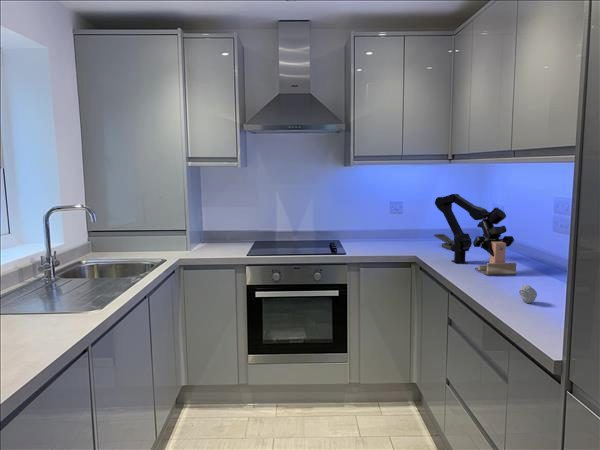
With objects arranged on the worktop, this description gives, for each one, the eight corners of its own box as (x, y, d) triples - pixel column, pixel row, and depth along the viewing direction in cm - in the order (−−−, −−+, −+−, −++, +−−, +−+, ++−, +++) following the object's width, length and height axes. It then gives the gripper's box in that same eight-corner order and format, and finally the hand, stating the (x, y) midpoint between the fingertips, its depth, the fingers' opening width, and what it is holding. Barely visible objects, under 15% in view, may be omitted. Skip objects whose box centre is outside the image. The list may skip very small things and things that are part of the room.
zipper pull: (444, 233, 306) (463, 239, 282) (444, 243, 307) (463, 250, 283) (432, 234, 305) (450, 240, 280) (432, 244, 306) (449, 250, 281)
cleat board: (474, 269, 229) (475, 258, 229) (501, 269, 231) (501, 257, 230) (487, 276, 216) (488, 263, 216) (515, 275, 218) (516, 263, 217)
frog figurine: (514, 302, 175) (515, 284, 174) (525, 299, 178) (526, 282, 178) (529, 306, 170) (530, 288, 169) (540, 303, 173) (541, 285, 172)
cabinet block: (489, 267, 224) (490, 241, 222) (498, 267, 224) (500, 241, 222) (495, 270, 218) (496, 243, 216) (505, 270, 218) (506, 243, 217)
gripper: (477, 220, 221) (487, 246, 212) (513, 219, 223) (525, 246, 214) (468, 233, 230) (477, 259, 221) (504, 233, 232) (514, 258, 222)
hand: (498, 255), depth 219 cm, fingers closed on cabinet block, 5 cm apart
